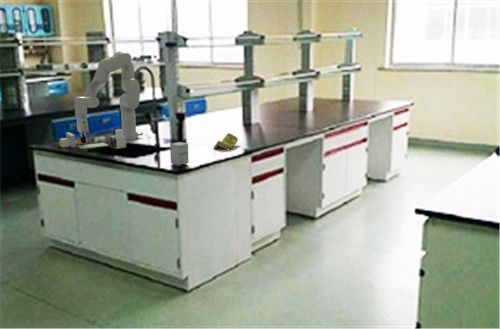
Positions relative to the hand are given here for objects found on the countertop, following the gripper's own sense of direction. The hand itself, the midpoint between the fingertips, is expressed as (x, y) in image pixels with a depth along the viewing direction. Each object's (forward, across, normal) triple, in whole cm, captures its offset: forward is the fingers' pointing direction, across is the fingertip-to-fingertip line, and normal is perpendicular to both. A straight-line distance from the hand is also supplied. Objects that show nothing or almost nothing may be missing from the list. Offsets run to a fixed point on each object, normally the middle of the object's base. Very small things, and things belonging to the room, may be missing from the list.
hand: (83, 142), depth 360 cm
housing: (+1, 0, +8) cm, 8 cm away
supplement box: (+1, -87, -28) cm, 91 cm away
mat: (+1, -9, -3) cm, 10 cm away
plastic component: (+1, -60, -76) cm, 97 cm away
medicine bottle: (+1, -22, -16) cm, 27 cm away
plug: (+1, 0, +9) cm, 9 cm away
